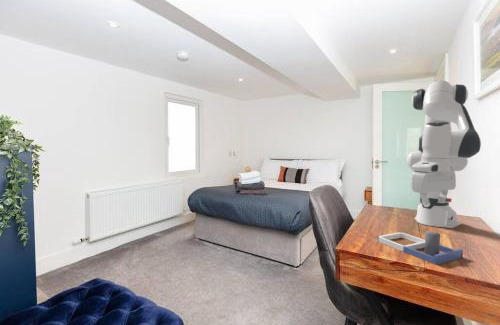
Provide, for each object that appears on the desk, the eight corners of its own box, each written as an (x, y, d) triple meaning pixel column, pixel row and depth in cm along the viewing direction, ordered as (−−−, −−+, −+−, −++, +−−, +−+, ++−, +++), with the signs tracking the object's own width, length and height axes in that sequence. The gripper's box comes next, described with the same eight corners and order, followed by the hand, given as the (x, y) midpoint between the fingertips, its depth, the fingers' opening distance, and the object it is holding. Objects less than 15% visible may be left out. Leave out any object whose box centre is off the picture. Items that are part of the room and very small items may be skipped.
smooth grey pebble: (429, 251, 98) (430, 230, 98) (441, 255, 94) (442, 234, 94) (421, 252, 97) (422, 232, 96) (434, 257, 93) (435, 235, 92)
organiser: (400, 236, 115) (401, 229, 114) (462, 257, 92) (462, 249, 92) (376, 241, 109) (376, 234, 109) (436, 264, 87) (436, 256, 86)
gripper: (443, 164, 100) (441, 198, 101) (408, 166, 92) (407, 203, 93) (462, 165, 95) (460, 202, 95) (426, 167, 87) (424, 207, 88)
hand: (433, 202), depth 94 cm, fingers open, 8 cm apart
